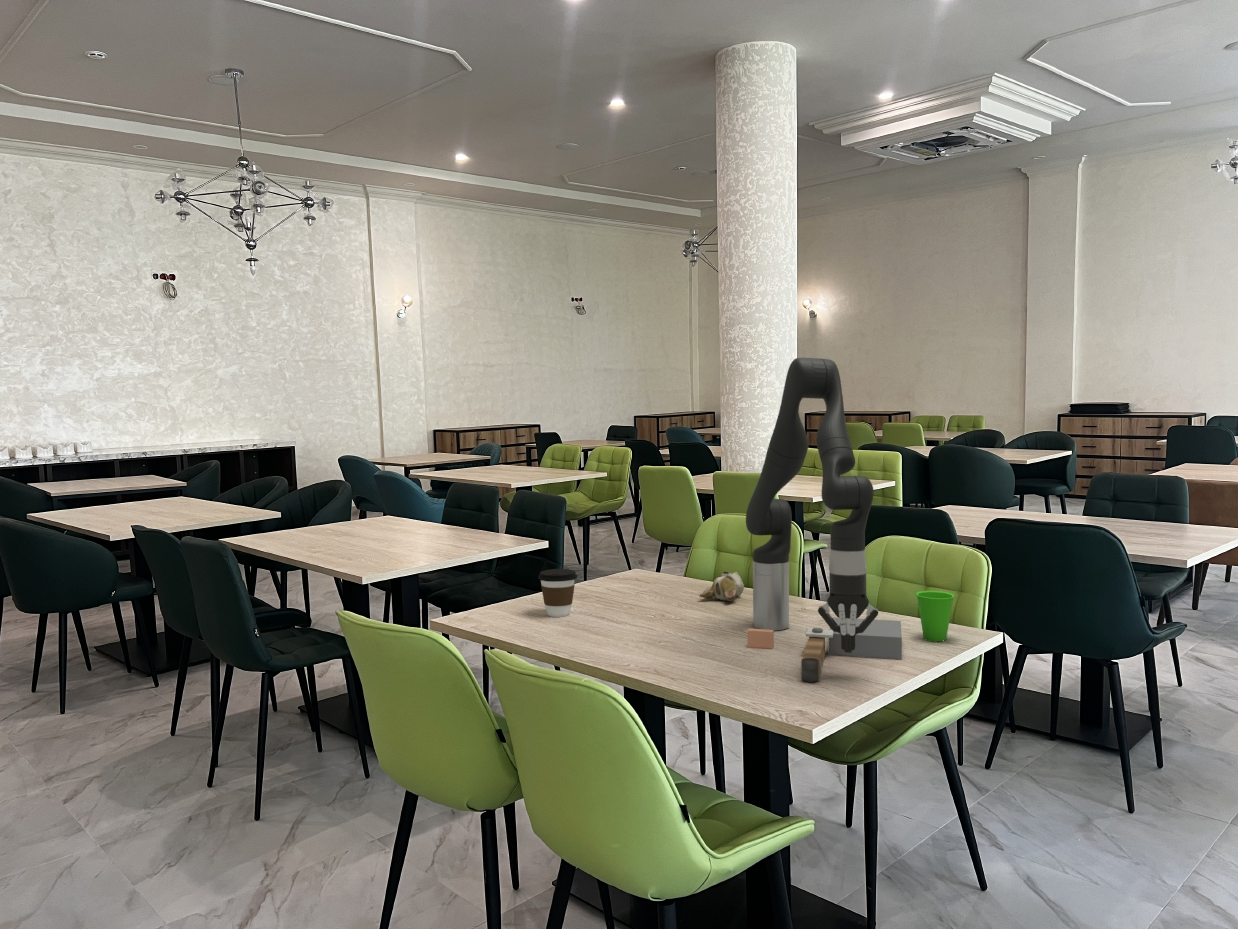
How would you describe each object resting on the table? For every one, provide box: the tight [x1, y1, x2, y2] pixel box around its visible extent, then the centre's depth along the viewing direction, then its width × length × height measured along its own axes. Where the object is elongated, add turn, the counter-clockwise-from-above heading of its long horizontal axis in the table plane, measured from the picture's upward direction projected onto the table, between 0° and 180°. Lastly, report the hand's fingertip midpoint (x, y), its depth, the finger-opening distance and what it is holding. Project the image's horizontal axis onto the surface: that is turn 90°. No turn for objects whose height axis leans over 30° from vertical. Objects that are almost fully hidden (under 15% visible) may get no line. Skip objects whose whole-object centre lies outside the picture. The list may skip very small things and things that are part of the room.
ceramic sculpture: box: [699, 571, 745, 602], centre depth 263 cm, size 11×9×15 cm
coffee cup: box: [537, 568, 578, 618], centre depth 246 cm, size 11×11×12 cm
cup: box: [915, 590, 956, 642], centre depth 215 cm, size 9×9×11 cm
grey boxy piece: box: [746, 616, 903, 660], centre depth 210 cm, size 18×35×6 cm, turn 73°
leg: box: [801, 637, 826, 683], centre depth 194 cm, size 24×4×4 cm, turn 163°
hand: (848, 651), depth 187 cm, fingers closed
